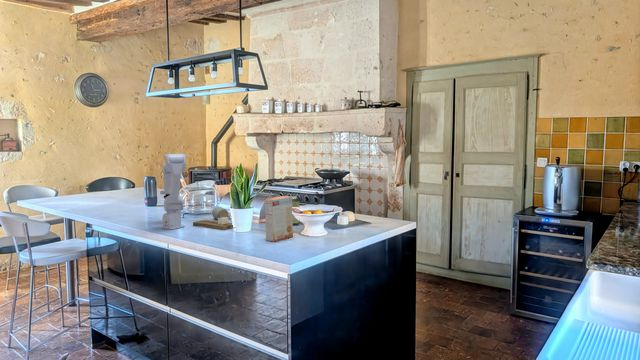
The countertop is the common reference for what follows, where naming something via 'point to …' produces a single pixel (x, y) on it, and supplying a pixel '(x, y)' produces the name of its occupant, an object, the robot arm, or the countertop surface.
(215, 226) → the fader console
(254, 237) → the countertop surface
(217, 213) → the ceramic mug
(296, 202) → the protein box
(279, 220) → the cracker box
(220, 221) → the fader knob
